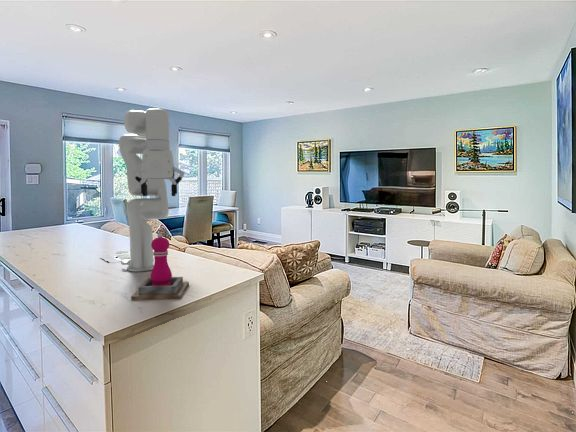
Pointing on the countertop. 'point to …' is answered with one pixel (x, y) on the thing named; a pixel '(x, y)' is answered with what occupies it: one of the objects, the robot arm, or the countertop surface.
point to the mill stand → (161, 290)
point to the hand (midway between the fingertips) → (159, 196)
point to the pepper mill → (160, 262)
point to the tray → (123, 255)
